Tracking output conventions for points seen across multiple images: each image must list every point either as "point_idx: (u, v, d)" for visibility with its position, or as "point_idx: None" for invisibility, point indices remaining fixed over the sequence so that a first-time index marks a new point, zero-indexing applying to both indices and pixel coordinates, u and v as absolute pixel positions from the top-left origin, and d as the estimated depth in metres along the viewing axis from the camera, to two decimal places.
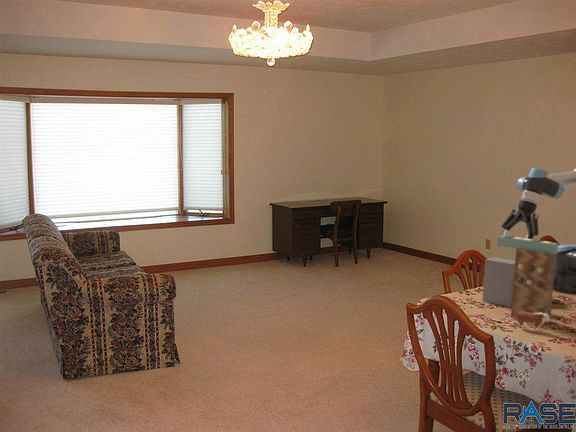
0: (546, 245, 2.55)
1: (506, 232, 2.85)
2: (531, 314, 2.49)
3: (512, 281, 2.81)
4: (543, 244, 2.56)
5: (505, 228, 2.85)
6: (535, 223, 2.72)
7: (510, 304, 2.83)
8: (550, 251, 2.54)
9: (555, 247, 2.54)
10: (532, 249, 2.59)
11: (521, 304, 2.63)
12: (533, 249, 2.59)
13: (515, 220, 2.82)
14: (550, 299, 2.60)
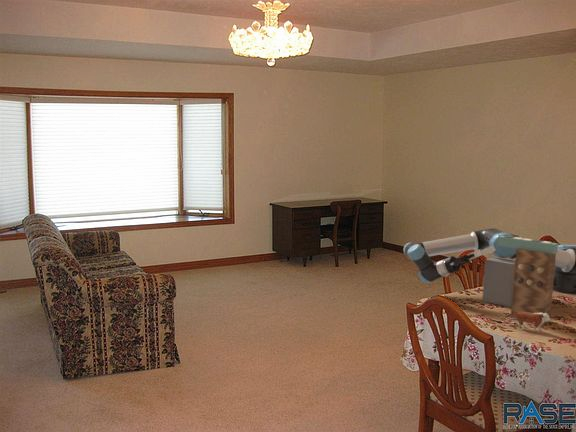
0: (546, 245, 2.55)
1: (484, 253, 2.83)
2: (531, 314, 2.49)
3: (512, 281, 2.81)
4: (543, 244, 2.56)
5: (482, 255, 2.84)
6: (456, 262, 2.77)
7: (510, 304, 2.83)
8: (550, 251, 2.54)
9: (555, 247, 2.54)
10: (532, 249, 2.59)
11: (521, 304, 2.63)
12: (533, 249, 2.59)
13: (469, 259, 2.85)
14: (550, 299, 2.60)
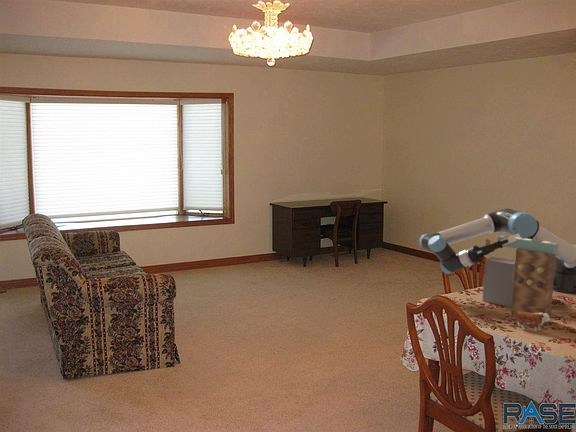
0: (546, 245, 2.55)
1: None
2: (531, 314, 2.49)
3: (512, 281, 2.81)
4: (543, 244, 2.56)
5: None
6: (487, 249, 2.69)
7: (510, 304, 2.83)
8: (550, 251, 2.54)
9: (555, 247, 2.54)
10: (532, 249, 2.59)
11: (521, 304, 2.63)
12: (533, 249, 2.59)
13: (493, 249, 2.75)
14: (550, 299, 2.60)
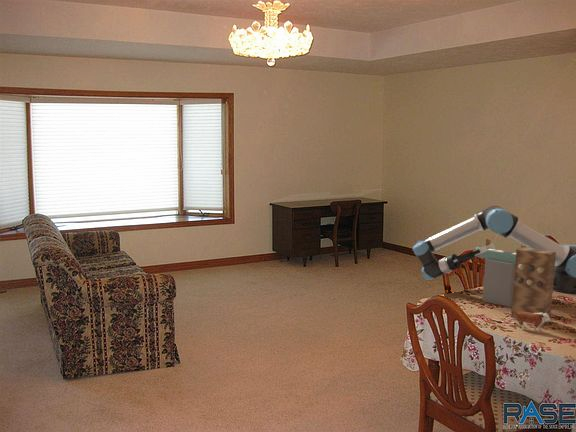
0: None
1: None
2: (531, 314, 2.49)
3: (512, 281, 2.81)
4: (513, 255, 2.80)
5: None
6: (461, 258, 2.93)
7: (510, 304, 2.83)
8: None
9: None
10: (504, 260, 2.84)
11: (521, 304, 2.63)
12: (504, 260, 2.83)
13: None
14: (550, 299, 2.60)
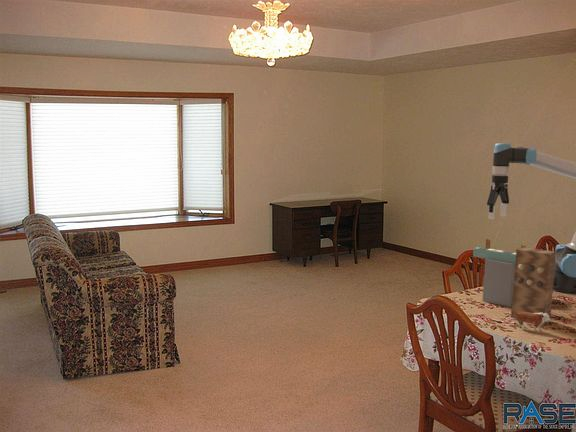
0: None
1: (502, 205, 3.10)
2: (531, 314, 2.49)
3: (512, 281, 2.81)
4: (513, 255, 2.80)
5: None
6: (491, 194, 2.98)
7: (510, 304, 2.83)
8: None
9: None
10: (504, 260, 2.84)
11: (521, 304, 2.63)
12: (504, 260, 2.83)
13: (500, 193, 3.07)
14: (550, 299, 2.60)
